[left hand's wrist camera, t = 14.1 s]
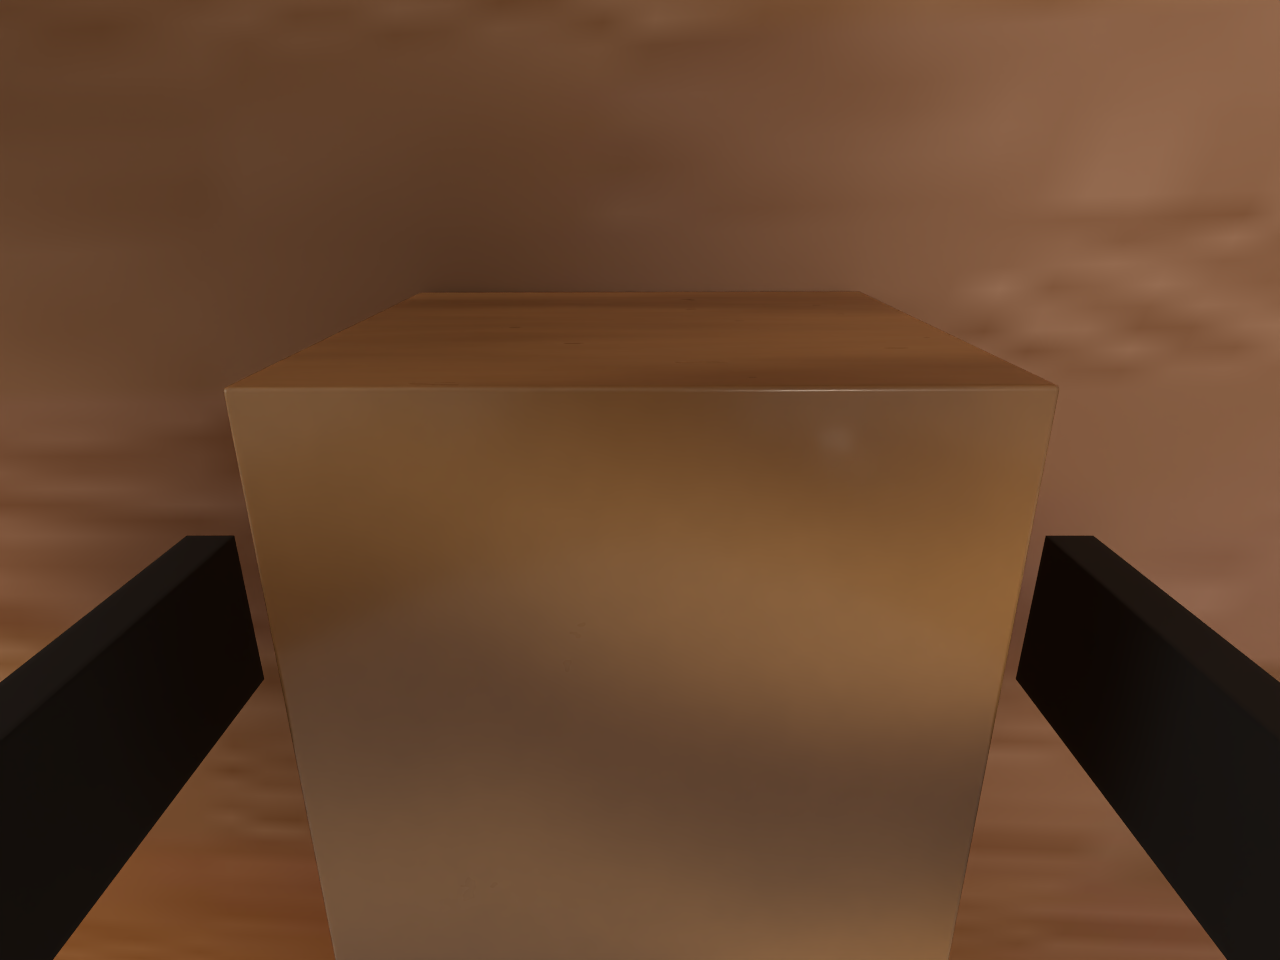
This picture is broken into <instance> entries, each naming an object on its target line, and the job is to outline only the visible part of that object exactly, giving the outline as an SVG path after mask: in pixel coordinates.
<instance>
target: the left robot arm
mask: <svg viewBox="0 0 1280 960" xmlns="http://www.w3.org/2000/svg"><path fill="white" fill-rule="evenodd" d="M263 680H264V676H263V671H262V666H261V662H260V657H259V652H258V647H257V643H256V638H255V633H254V628H253V623H252V619H251V614H250V609H249V604H248V599H247V595H246V590H245V585H244V580H243V576H242V571H241V566H240V561H239V556H238V552H237V547H236V542H235V537H234V536H186V537H185V538H183V539H182V540H181V541H180V542H178V543H177V544H176V545H174V546H173V547H172V548H171V549H169V550H168V551H167V552H166V553H164V554H163V555H162V556H160V557H159V558H158V559H157V560H155V561H154V562H153V563H152V564H150V565H149V566H148V567H146V568H145V569H144V570H143V571H141V572H140V573H139V574H138V575H136V576H135V577H134V578H132V579H131V580H130V581H129V582H127V583H126V584H125V585H124V586H122V587H121V588H120V589H119V590H117V591H116V592H115V593H113V594H112V595H111V596H110V597H108V598H107V599H106V600H105V601H103V602H102V603H101V604H99V605H98V606H97V607H96V608H94V609H93V610H92V611H91V612H89V613H88V614H87V615H85V616H84V617H83V618H82V619H80V620H79V621H78V622H77V623H75V624H74V625H73V626H71V627H70V628H69V629H68V630H66V631H65V632H64V633H63V634H61V635H60V636H59V637H57V638H56V639H55V640H54V641H52V642H51V643H50V644H49V645H47V646H46V647H45V648H43V649H42V650H41V651H40V652H38V653H37V654H36V655H35V656H33V657H32V658H31V659H29V660H28V661H27V662H26V663H24V664H23V665H22V666H21V667H19V668H18V669H17V670H15V671H14V672H13V673H12V674H10V675H9V676H8V677H7V678H5V679H4V680H3V681H2V682H0V960H53V959H54V957H55V956H56V955H57V954H58V952H59V951H60V950H61V948H62V947H63V946H64V944H65V943H66V942H67V940H68V939H69V938H70V936H71V935H72V934H73V932H74V931H75V930H76V928H77V927H78V926H79V924H80V923H81V922H82V920H83V919H84V918H85V916H86V915H87V914H88V912H89V911H90V910H91V908H92V907H93V906H94V904H95V903H96V902H97V900H98V899H99V898H100V896H101V895H102V894H103V892H104V891H105V890H106V888H107V887H108V886H109V884H110V883H111V882H112V880H113V879H114V878H115V876H116V875H117V874H118V872H119V871H120V870H121V868H122V867H123V866H124V864H125V863H126V862H127V860H128V859H129V858H130V856H131V855H132V854H133V853H134V851H135V850H136V849H137V847H138V846H139V845H140V843H141V842H142V841H143V839H144V838H145V837H146V835H147V834H148V833H149V831H150V830H151V829H152V827H153V826H154V825H155V823H156V822H157V821H158V819H159V818H160V817H161V815H162V814H163V813H164V811H165V810H166V809H167V807H168V806H169V805H170V803H171V802H172V801H173V799H174V798H175V797H176V795H177V794H178V793H179V791H180V790H181V789H182V787H183V786H184V785H185V783H186V782H187V781H188V779H189V778H190V777H191V775H192V774H193V773H194V771H195V770H196V769H197V767H198V766H199V765H200V763H201V762H202V761H203V759H204V758H205V757H206V756H207V754H208V753H209V752H210V750H211V749H212V748H213V746H214V745H215V744H216V742H217V741H218V740H219V738H220V737H221V736H222V734H223V733H224V732H225V730H226V729H227V728H228V726H229V725H230V724H231V722H232V721H233V720H234V718H235V717H236V716H237V714H238V713H239V712H240V710H241V709H242V708H243V706H244V705H245V704H246V702H247V701H248V700H249V698H250V697H251V696H252V694H253V693H254V692H255V690H256V689H257V688H258V686H259V685H260V684H261V682H262V681H263ZM1016 680H1017V681H1018V682H1019V684H1020V685H1021V686H1022V688H1023V689H1024V690H1025V692H1026V693H1027V694H1028V696H1029V697H1030V698H1031V700H1032V701H1033V702H1034V704H1035V705H1036V706H1037V708H1038V709H1039V710H1040V712H1041V713H1042V714H1043V716H1044V717H1045V718H1046V720H1047V721H1048V722H1049V724H1050V725H1051V726H1052V728H1053V729H1054V730H1055V732H1056V733H1057V734H1058V736H1059V737H1060V738H1061V740H1062V741H1063V742H1064V744H1065V745H1066V746H1067V748H1068V749H1069V750H1070V752H1071V753H1072V754H1073V756H1074V757H1075V758H1076V759H1077V761H1078V762H1079V763H1080V765H1081V766H1082V767H1083V769H1084V770H1085V771H1086V773H1087V774H1088V775H1089V777H1090V778H1091V779H1092V781H1093V782H1094V783H1095V785H1096V786H1097V787H1098V789H1099V790H1100V791H1101V793H1102V794H1103V795H1104V797H1105V798H1106V799H1107V801H1108V802H1109V803H1110V805H1111V806H1112V807H1113V809H1114V810H1115V811H1116V813H1117V814H1118V815H1119V817H1120V818H1121V819H1122V821H1123V822H1124V823H1125V825H1126V826H1127V827H1128V829H1129V830H1130V831H1131V833H1132V834H1133V835H1134V837H1135V838H1136V839H1137V841H1138V842H1139V843H1140V845H1141V846H1142V847H1143V849H1144V850H1145V851H1146V853H1147V854H1148V855H1149V857H1150V858H1151V859H1152V860H1153V862H1154V863H1155V864H1156V866H1157V867H1158V868H1159V870H1160V871H1161V872H1162V874H1163V875H1164V876H1165V878H1166V879H1167V880H1168V882H1169V883H1170V884H1171V886H1172V887H1173V888H1174V890H1175V891H1176V892H1177V894H1178V895H1179V896H1180V898H1181V899H1182V900H1183V902H1184V903H1185V904H1186V906H1187V907H1188V908H1189V910H1190V911H1191V912H1192V914H1193V915H1194V916H1195V918H1196V919H1197V920H1198V922H1199V923H1200V924H1201V926H1202V927H1203V928H1204V930H1205V931H1206V932H1207V934H1208V935H1209V936H1210V938H1211V939H1212V940H1213V942H1214V943H1215V944H1216V946H1217V947H1218V948H1219V950H1220V951H1221V952H1222V954H1223V955H1224V956H1225V957H1226V959H1227V960H1280V682H1278V681H1277V680H1276V679H1275V678H1273V677H1272V676H1271V675H1270V674H1268V673H1267V672H1266V671H1265V670H1263V669H1262V668H1261V667H1259V666H1258V665H1257V664H1256V663H1254V662H1253V661H1252V660H1251V659H1249V658H1248V657H1247V656H1245V655H1244V654H1243V653H1242V652H1240V651H1239V650H1238V649H1237V648H1235V647H1234V646H1233V645H1231V644H1230V643H1229V642H1228V641H1226V640H1225V639H1224V638H1223V637H1221V636H1220V635H1219V634H1217V633H1216V632H1215V631H1214V630H1212V629H1211V628H1210V627H1209V626H1207V625H1206V624H1205V623H1203V622H1202V621H1201V620H1200V619H1198V618H1197V617H1196V616H1195V615H1193V614H1192V613H1191V612H1189V611H1188V610H1187V609H1186V608H1184V607H1183V606H1182V605H1181V604H1179V603H1178V602H1177V601H1175V600H1174V599H1173V598H1172V597H1170V596H1169V595H1168V594H1167V593H1165V592H1164V591H1163V590H1161V589H1160V588H1159V587H1158V586H1156V585H1155V584H1154V583H1153V582H1151V581H1150V580H1149V579H1148V578H1146V577H1145V576H1144V575H1142V574H1141V573H1140V572H1139V571H1137V570H1136V569H1135V568H1134V567H1132V566H1131V565H1130V564H1128V563H1127V562H1126V561H1125V560H1123V559H1122V558H1121V557H1120V556H1118V555H1117V554H1116V553H1114V552H1113V551H1112V550H1111V549H1109V548H1108V547H1107V546H1106V545H1104V544H1103V543H1102V542H1100V541H1099V540H1098V539H1097V538H1095V537H1094V536H1046V537H1045V542H1044V547H1043V552H1042V556H1041V561H1040V566H1039V571H1038V576H1037V580H1036V585H1035V590H1034V595H1033V599H1032V604H1031V609H1030V614H1029V619H1028V623H1027V628H1026V633H1025V638H1024V643H1023V647H1022V652H1021V657H1020V662H1019V666H1018V671H1017V676H1016Z"/></svg>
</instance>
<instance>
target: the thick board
mask: <svg viewBox="0 0 1280 960" xmlns="http://www.w3.org/2000/svg"><path fill="white" fill-rule="evenodd" d="M1058 392H1059V388H1058V386H1057V385H1055V384H1053V383H1051V382H1049V381H1047V380H1045V379H1042V378H1040V377H1038V376H1036V375H1034V374H1032V373H1030V372H1028V371H1026V370H1023V369H1021V368H1019V367H1017V366H1015V365H1013V364H1011V363H1009V362H1007V361H1004V360H1002V359H1000V358H998V357H996V356H994V355H992V354H990V353H988V352H986V351H983V350H981V349H979V348H977V347H975V346H973V345H971V344H969V343H967V342H964V341H962V340H960V339H958V338H956V337H954V336H952V335H950V334H948V333H945V332H943V331H941V330H939V329H937V328H935V327H933V326H931V325H929V324H927V323H924V322H922V321H920V320H918V319H916V318H914V317H912V316H910V315H908V314H905V313H903V312H901V311H899V310H897V309H895V308H893V307H891V306H889V305H886V304H884V303H882V302H880V301H878V300H876V299H874V298H872V297H870V296H868V295H865V294H863V293H861V292H465V293H419V294H417V295H415V296H413V297H411V298H409V299H407V300H404V301H402V302H400V303H398V304H396V305H394V306H392V307H390V308H388V309H386V310H384V311H382V312H380V313H378V314H376V315H374V316H372V317H370V318H367V319H365V320H363V321H361V322H359V323H357V324H355V325H353V326H351V327H349V328H347V329H345V330H343V331H341V332H339V333H337V334H335V335H332V336H330V337H328V338H326V339H324V340H322V341H320V342H318V343H316V344H314V345H312V346H310V347H308V348H306V349H304V350H302V351H300V352H297V353H295V354H293V355H291V356H289V357H287V358H285V359H283V360H281V361H279V362H277V363H275V364H273V365H271V366H269V367H267V368H265V369H263V370H260V371H258V372H256V373H254V374H252V375H250V376H248V377H246V378H244V379H242V380H240V381H238V382H236V383H234V384H232V385H230V386H228V387H225V389H224V396H225V401H226V406H227V411H228V416H229V422H230V427H231V432H232V437H233V442H234V447H235V452H236V457H237V462H238V467H239V472H240V477H241V482H242V488H243V493H244V498H245V503H246V508H247V513H248V518H249V523H250V528H251V533H252V538H253V543H254V548H255V554H256V559H257V564H258V569H259V574H260V579H261V584H262V589H263V594H264V599H265V604H266V609H267V614H268V620H269V625H270V630H271V635H272V640H273V645H274V650H275V655H276V660H277V665H278V670H279V675H280V680H281V686H282V691H283V696H284V701H285V706H286V711H287V716H288V721H289V726H290V731H291V736H292V741H293V746H294V751H295V757H296V762H297V767H298V772H299V777H300V782H301V787H302V792H303V797H304V802H305V807H306V812H307V817H308V823H309V828H310V833H311V838H312V843H313V848H314V853H315V858H316V863H317V868H318V873H319V878H320V883H321V889H322V894H323V899H324V904H325V909H326V914H327V919H328V924H329V929H330V934H331V939H332V944H333V949H334V955H335V960H949V954H950V949H951V944H952V939H953V934H954V929H955V923H956V918H957V913H958V908H959V903H960V898H961V893H962V887H963V882H964V877H965V872H966V867H967V862H968V856H969V851H970V846H971V841H972V836H973V831H974V825H975V820H976V815H977V810H978V805H979V800H980V795H981V789H982V784H983V779H984V774H985V769H986V764H987V758H988V753H989V748H990V743H991V738H992V733H993V727H994V722H995V717H996V712H997V707H998V702H999V697H1000V691H1001V686H1002V681H1003V676H1004V671H1005V666H1006V660H1007V655H1008V650H1009V645H1010V640H1011V635H1012V629H1013V624H1014V619H1015V614H1016V609H1017V604H1018V599H1019V593H1020V588H1021V583H1022V578H1023V573H1024V568H1025V562H1026V557H1027V552H1028V547H1029V542H1030V537H1031V532H1032V526H1033V521H1034V516H1035V511H1036V506H1037V501H1038V495H1039V490H1040V485H1041V480H1042V475H1043V470H1044V464H1045V459H1046V454H1047V449H1048V444H1049V439H1050V434H1051V428H1052V423H1053V418H1054V413H1055V408H1056V403H1057V397H1058Z"/></svg>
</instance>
